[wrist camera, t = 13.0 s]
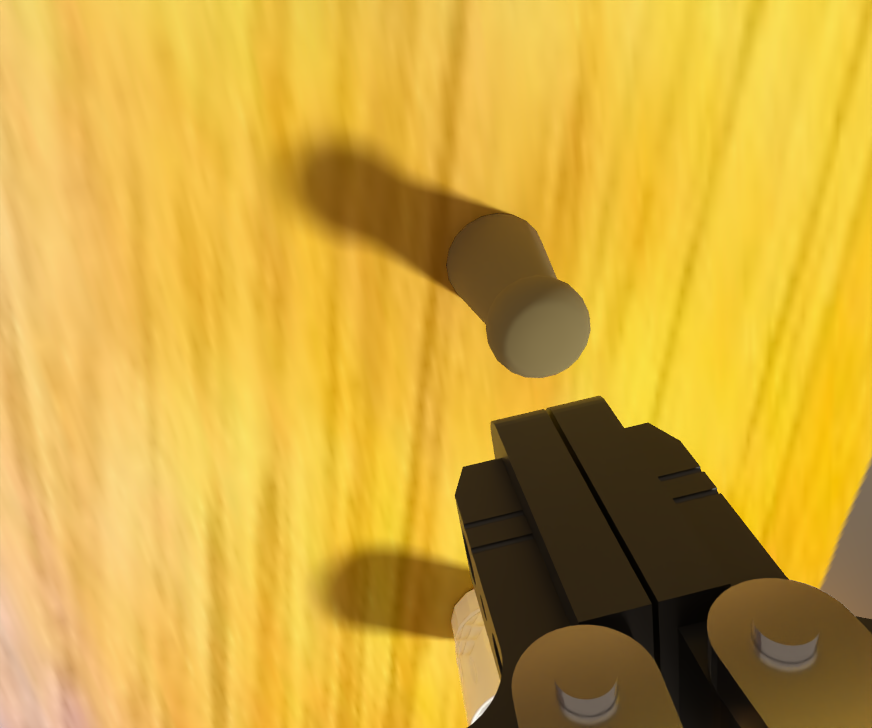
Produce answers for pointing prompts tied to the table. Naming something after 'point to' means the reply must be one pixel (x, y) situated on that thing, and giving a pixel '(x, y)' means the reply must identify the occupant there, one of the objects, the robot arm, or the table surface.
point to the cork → (518, 296)
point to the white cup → (473, 657)
